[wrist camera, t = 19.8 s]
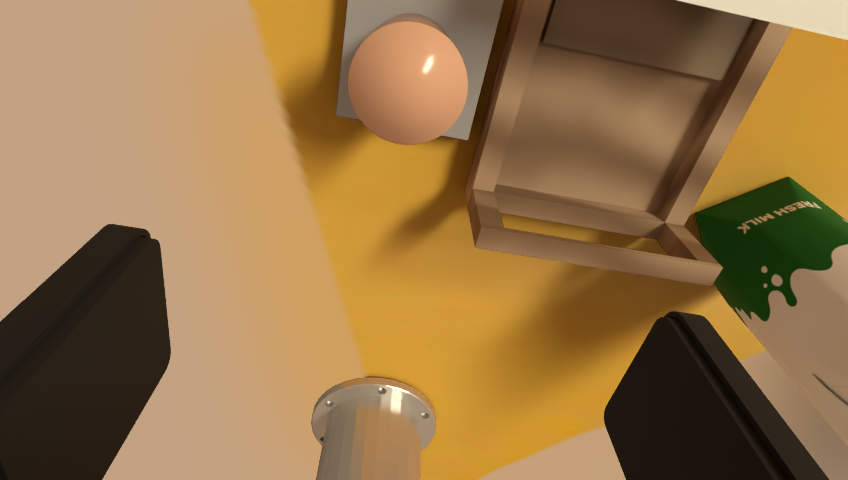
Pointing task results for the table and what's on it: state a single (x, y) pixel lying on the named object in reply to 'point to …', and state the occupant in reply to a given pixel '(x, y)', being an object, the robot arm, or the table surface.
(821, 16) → the lid
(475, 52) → the trivet
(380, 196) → the table surface
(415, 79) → the peach rounded knob
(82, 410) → the robot arm
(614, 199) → the wooden frame crate
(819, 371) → the milk carton
